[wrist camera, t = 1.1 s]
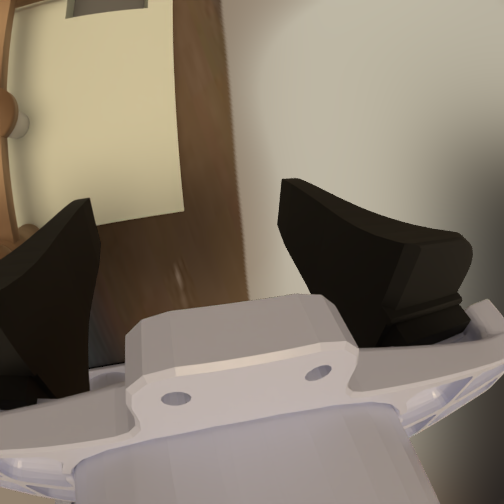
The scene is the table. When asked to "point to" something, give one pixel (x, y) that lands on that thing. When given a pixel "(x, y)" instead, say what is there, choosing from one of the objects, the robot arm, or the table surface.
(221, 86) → the table surface
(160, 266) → the table surface
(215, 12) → the table surface
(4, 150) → the lever
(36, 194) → the cream shape sorter
